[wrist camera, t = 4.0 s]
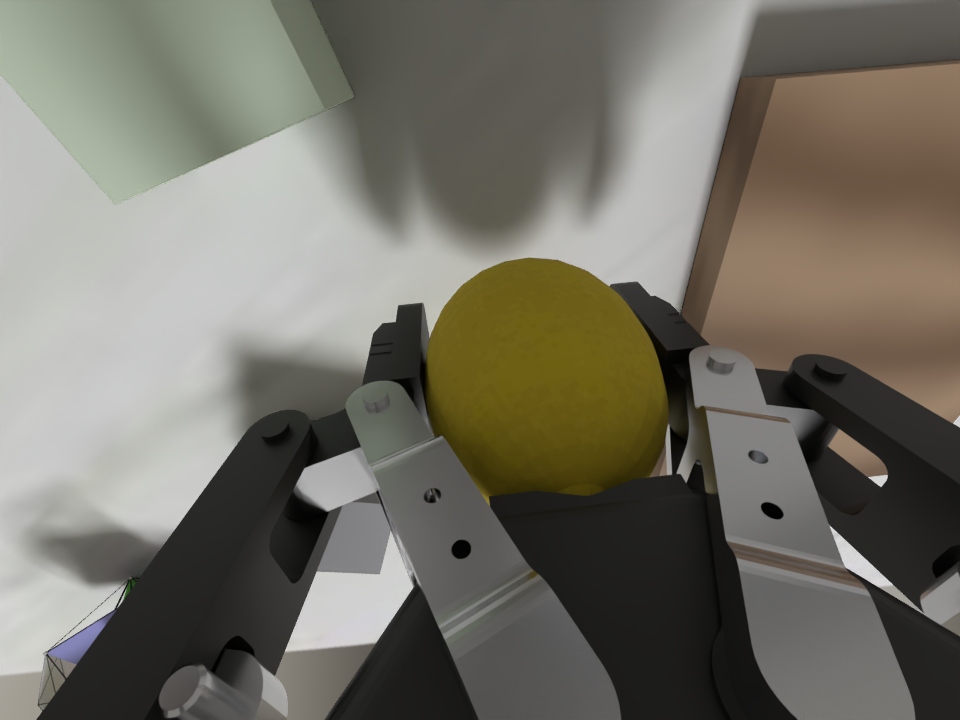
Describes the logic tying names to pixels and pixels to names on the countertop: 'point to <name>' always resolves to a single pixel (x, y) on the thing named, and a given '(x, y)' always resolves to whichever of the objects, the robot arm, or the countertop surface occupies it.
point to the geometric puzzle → (70, 654)
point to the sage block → (166, 79)
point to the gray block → (357, 538)
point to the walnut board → (839, 231)
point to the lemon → (545, 382)
